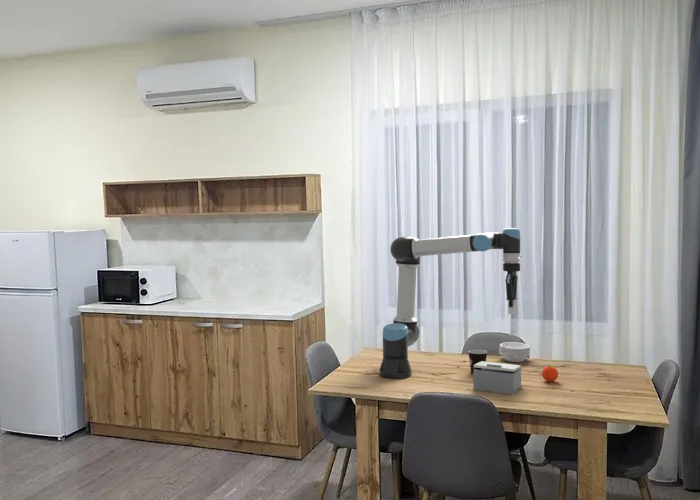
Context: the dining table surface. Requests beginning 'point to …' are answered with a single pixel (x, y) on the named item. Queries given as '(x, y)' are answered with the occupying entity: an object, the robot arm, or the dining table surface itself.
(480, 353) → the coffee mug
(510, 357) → the paper bowls
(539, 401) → the dining table surface
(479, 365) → the lid
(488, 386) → the grey box
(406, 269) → the robot arm
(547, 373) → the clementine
